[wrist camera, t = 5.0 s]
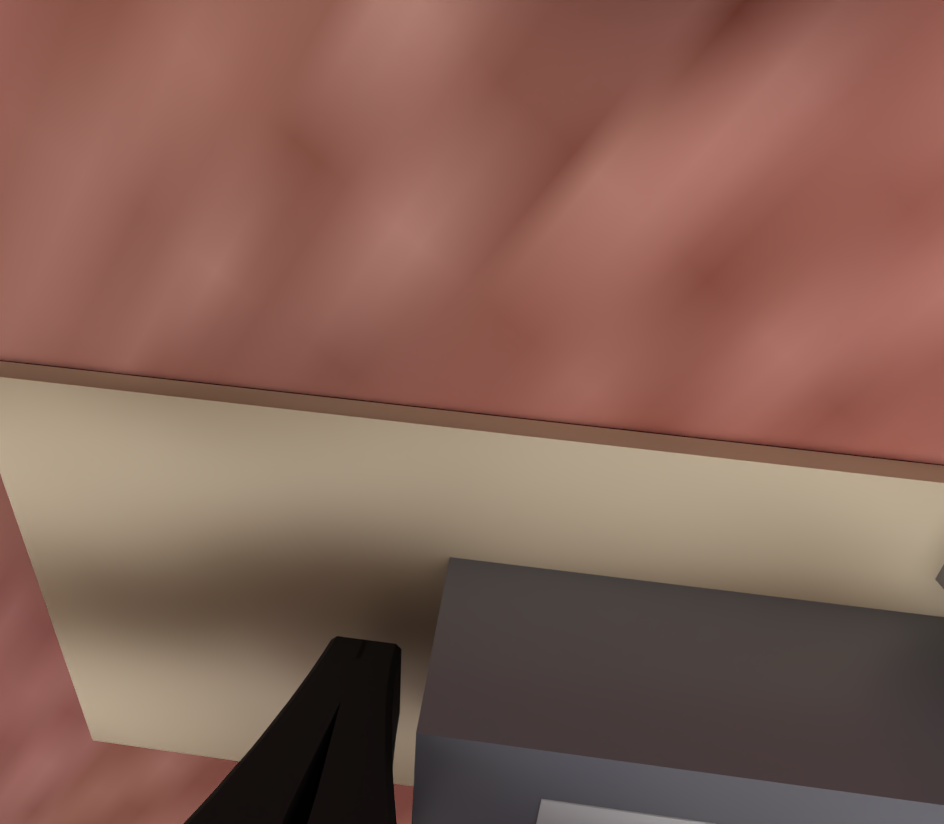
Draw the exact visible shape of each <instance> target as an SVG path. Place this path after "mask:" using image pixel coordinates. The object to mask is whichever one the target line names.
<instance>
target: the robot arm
mask: <svg viewBox="0 0 944 824" xmlns="http://www.w3.org/2000/svg"><path fill="white" fill-rule="evenodd" d="M401 650H402V649H401V648H400V647H399V646H398V645H397V644H394V643H387V642H379V641H371V640H364V639H356V638H348V637H341V636H336V637H335V638H333V639H331V641H330V642H329V644H328V645H327V647H326V648H325V650H324V652H323V653H322V655H321V656H320V658H319V659H318V661H317V662H316V664H315V665H314V666H313V668H312V669H311V671H310V672H309V674H308V675H307V676H306V678H305V679H304V681H303V682H302V683H301V685H300V686H299V687H298V689H297V690H296V691H295V693H294V694H293V696H292V697H291V698H290V700H289V701H288V702H287V704H286V705H285V706H284V707H283V709H282V710H281V711H280V712H279V714H278V715H277V716H276V718H275V719H274V720H273V721H272V723H271V724H270V725H269V726H268V728H267V729H266V730H265V731H264V733H263V734H262V735H261V737H260V738H259V739H258V740H257V742H256V743H255V744H254V745H253V746H252V748H251V749H250V750H249V751H248V752H247V753H246V755H245V756H244V757H243V758H242V759H241V760H240V762H239V763H238V764H237V765H236V766H235V767H234V768H233V770H232V771H231V772H230V773H229V774H228V775H227V777H226V778H225V779H224V780H223V781H222V782H221V783H220V785H219V786H218V787H217V788H216V789H215V790H214V791H213V793H212V794H211V795H210V796H209V797H208V798H207V799H206V800H205V801H204V802H203V804H202V805H201V806H200V807H199V808H198V809H197V810H196V811H195V812H194V813H193V814H192V815H191V816H190V817H189V819H188V820H187V821H186V822H185V823H184V824H396V813H395V800H394V785H393V760H394V750H395V741H396V734H397V727H398V721H399V715H400V689H401Z"/></svg>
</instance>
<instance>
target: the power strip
mask: <svg viewBox="0 0 944 824" xmlns="http://www.w3.org/2000/svg"><path fill="white" fill-rule="evenodd" d="M412 824H944V617H939V616H931V615H923V614H915V613H906V612H898V611H890V610H882V609H873V608H865V607H857V606H849V605H840V604H832V603H824V602H816V601H807V600H799V599H791V598H783V597H775V596H766V595H758V594H750V593H742V592H733V591H725V590H717V589H709V588H700V587H692V586H684V585H676V584H667V583H659V582H651V581H643V580H635V579H626V578H618V577H610V576H602V575H593V574H585V573H577V572H569V571H560V570H552V569H544V568H536V567H527V566H519V565H511V564H503V563H494V562H486V561H478V560H469V559H461V558H453V557H450V558H449V563H448V568H447V574H446V579H445V584H444V589H443V595H442V600H441V605H440V610H439V616H438V621H437V626H436V631H435V637H434V642H433V647H432V652H431V657H430V663H429V668H428V673H427V678H426V684H425V689H424V694H423V699H422V705H421V710H420V715H419V720H418V725H417V731H416V745H415V766H414V788H413V810H412Z"/></svg>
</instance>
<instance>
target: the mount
mask: <svg viewBox="0 0 944 824" xmlns="http://www.w3.org/2000/svg"><path fill="white" fill-rule="evenodd" d="M0 474H1V477H2V480H3V483H4V485H5V488H6V491H7V494H8V497H9V500H10V503H11V506H12V509H13V511H14V514H15V517H16V520H17V523H18V526H19V529H20V532H21V535H22V537H23V540H24V543H25V546H26V549H27V552H28V555H29V558H30V561H31V563H32V566H33V569H34V572H35V575H36V578H37V581H38V584H39V587H40V589H41V592H42V595H43V598H44V601H45V604H46V607H47V610H48V613H49V615H50V618H51V621H52V624H53V627H54V630H55V633H56V636H57V639H58V641H59V644H60V647H61V650H62V653H63V656H64V659H65V662H66V664H67V667H68V670H69V673H70V676H71V679H72V682H73V685H74V688H75V690H76V693H77V696H78V699H79V702H80V705H81V708H82V711H83V714H84V716H85V719H86V722H87V725H88V728H89V731H90V734H91V737H92V740H95V741H102V742H109V743H116V744H123V745H129V746H136V747H143V748H150V749H157V750H164V751H171V752H178V753H185V754H192V755H199V756H206V757H213V758H220V759H227V760H234V761H240V760H241V759H242V758H243V757H244V756H245V755H246V753H247V752H248V751H249V750H250V749H251V748H252V746H253V745H254V744H255V743H256V742H257V740H258V739H259V738H260V737H261V735H262V734H263V733H264V731H265V730H266V729H267V728H268V726H269V725H270V724H271V723H272V721H273V720H274V719H275V718H276V716H277V715H278V714H279V712H280V711H281V710H282V709H283V707H284V706H285V705H286V704H287V702H288V701H289V700H290V698H291V697H292V696H293V694H294V693H295V691H296V690H297V689H298V687H299V686H300V685H301V683H302V682H303V681H304V679H305V678H306V676H307V675H308V674H309V672H310V671H311V669H312V668H313V666H314V665H315V664H316V662H317V661H318V659H319V658H320V656H321V655H322V653H323V652H324V650H325V648H326V647H327V645H328V644H329V642H330V641H331V639H333V638H335V637H336V636H341V637H348V638H356V639H364V640H371V641H379V642H387V643H394V644H397V645H398V646H399V647H400V648H401V649H402V650H401V689H400V715H399V721H398V727H397V734H396V741H395V750H394V760H393V783H394V784H401V785H408V786H414V766H415V745H416V731H417V725H418V720H419V715H420V710H421V705H422V699H423V694H424V689H425V684H426V678H427V673H428V668H429V663H430V657H431V652H432V647H433V642H434V637H435V631H436V626H437V621H438V616H439V610H440V605H441V600H442V595H443V589H444V584H445V579H446V574H447V568H448V563H449V558H450V557H453V558H461V559H469V560H478V561H486V562H494V563H503V564H511V565H519V566H527V567H536V568H544V569H552V570H560V571H569V572H577V573H585V574H593V575H602V576H610V577H618V578H626V579H635V580H643V581H651V582H659V583H667V584H676V585H684V586H692V587H700V588H709V589H717V590H725V591H733V592H742V593H750V594H758V595H766V596H775V597H783V598H791V599H799V600H807V601H816V602H824V603H832V604H840V605H849V606H857V607H865V608H873V609H882V610H890V611H898V612H906V613H915V614H923V615H931V616H939V617H944V466H941V465H932V464H923V463H914V462H905V461H896V460H887V459H878V458H869V457H860V456H851V455H842V454H833V453H824V452H815V451H806V450H797V449H788V448H779V447H770V446H761V445H752V444H743V443H734V442H725V441H716V440H707V439H698V438H689V437H680V436H671V435H662V434H653V433H644V432H635V431H626V430H617V429H608V428H599V427H590V426H581V425H572V424H563V423H554V422H545V421H536V420H527V419H518V418H509V417H500V416H491V415H482V414H473V413H464V412H455V411H446V410H437V409H428V408H419V407H410V406H401V405H392V404H383V403H374V402H365V401H356V400H347V399H338V398H329V397H320V396H311V395H302V394H293V393H284V392H275V391H266V390H257V389H248V388H239V387H230V386H221V385H212V384H203V383H194V382H185V381H176V380H167V379H158V378H149V377H140V376H131V375H122V374H113V373H104V372H95V371H86V370H77V369H68V368H59V367H50V366H41V365H32V364H23V363H14V362H5V361H0Z"/></svg>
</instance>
